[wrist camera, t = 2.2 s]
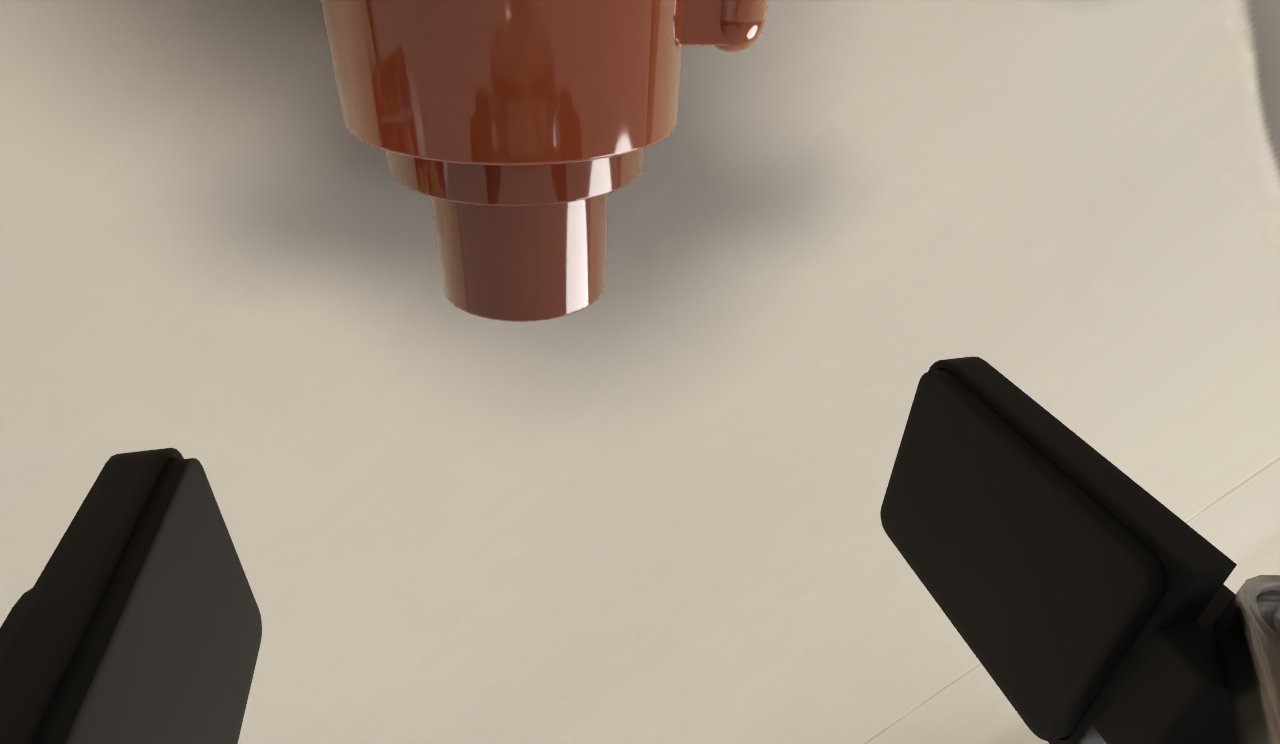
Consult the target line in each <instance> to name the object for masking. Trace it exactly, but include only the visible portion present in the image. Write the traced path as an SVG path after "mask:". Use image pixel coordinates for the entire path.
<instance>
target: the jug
mask: <svg viewBox="0 0 1280 744" xmlns="http://www.w3.org/2000/svg"><path fill="white" fill-rule="evenodd" d="M321 3H322V9H323V14H324V19H325V25H326V30H327V35H328V40H329V46H330V51H331V56H332V62H333V67H334V72H335V78H336V83H337V88H338V93H339V99H340V104H341V109H342V115H343V120H344V124H345V126H346V128H347V130H348V131H349V132H350V133H351V134H352V135H353V136H354V137H355V138H357V139H359V140H361V141H362V142H364V143H366V144H369V145H371V146H374V147H376V148H379V149H382V150H385V151H386V157H387V164H388V170H389V172H390V174H391V175H392V177H393V178H394V179H395V180H396V181H397V182H398V183H400V184H401V185H403V186H404V187H406V188H408V189H410V190H413V191H415V192H418V193H421V194H424V195H427V196H430V197H431V202H432V209H433V217H434V225H435V233H436V240H437V248H438V256H439V263H440V271H441V279H442V287H443V292H444V294H445V296H446V297H447V299H448V300H449V301H450V302H451V303H452V304H453V305H455V306H456V307H458V308H459V309H461V310H463V311H465V312H467V313H470V314H473V315H476V316H479V317H483V318H488V319H493V320H500V321H515V322H525V321H539V320H547V319H553V318H558V317H562V316H565V315H569V314H572V313H575V312H577V311H579V310H582V309H584V308H586V307H587V306H589V305H591V304H592V303H594V302H595V301H596V300H597V299H598V298H599V297H600V296H601V295H602V293H603V291H604V289H605V286H606V250H607V193H611V192H614V191H616V190H618V189H620V188H623V187H625V186H626V185H628V184H630V183H631V182H633V181H634V180H635V179H636V178H637V177H638V176H639V174H640V173H641V171H642V168H643V156H644V148H647V147H649V146H652V145H654V144H656V143H658V142H660V141H662V140H664V139H665V138H667V137H668V136H669V135H670V134H672V132H673V131H674V129H675V127H676V125H677V115H678V100H679V85H680V70H681V54H682V45H713V46H715V47H716V48H718V49H719V50H722V51H725V52H739V51H742V50H745V49H747V48H749V47H750V46H751V45H753V44H754V43H755V42H756V40H757V39H758V38H759V36H760V35H761V33H762V31H763V29H764V26H765V22H766V16H767V8H768V0H321Z"/></svg>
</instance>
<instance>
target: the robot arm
mask: <svg viewBox="0 0 1280 744" xmlns="http://www.w3.org/2000/svg"><path fill="white" fill-rule="evenodd" d="M881 521H882V525H883V528H884V530H885V532H886V534H887V535H888V537H889V538H890V539H891V541H892V542H893V543H894V545H895V546H896V548H897V549H898V550H899V552H900V553H901V554H902V556H903V557H904V558H905V560H906V561H907V563H908V564H909V565H910V567H911V568H912V569H913V571H914V572H915V573H916V575H917V576H918V578H919V579H920V580H921V582H922V583H923V584H924V586H925V587H926V588H927V590H928V591H929V593H930V594H931V595H932V597H933V598H934V599H935V601H936V602H937V603H938V605H939V606H940V608H941V609H942V610H943V612H944V613H945V614H946V616H947V617H948V618H949V620H950V621H951V623H952V624H953V625H954V627H955V628H956V629H957V631H958V632H959V633H960V635H961V636H962V638H963V639H964V640H965V642H966V643H967V644H968V646H969V647H970V648H971V650H972V651H973V653H974V654H975V655H976V657H977V658H978V659H979V661H980V662H981V663H982V665H983V666H984V667H985V669H986V670H987V672H988V673H989V674H990V676H991V677H992V678H993V680H994V681H995V682H996V684H997V685H998V687H999V688H1000V689H1001V691H1002V692H1003V693H1004V695H1005V696H1006V697H1007V699H1008V700H1009V702H1010V703H1011V704H1012V706H1013V707H1014V708H1015V710H1016V711H1017V712H1018V714H1019V715H1020V717H1021V718H1022V719H1023V721H1024V722H1025V723H1026V725H1027V726H1028V727H1029V729H1030V730H1031V731H1032V732H1033V733H1034V734H1035V735H1036V736H1038V737H1039V738H1040V739H1043V740H1045V741H1048V742H1049V744H1280V576H1278V575H1260V576H1257V577H1254V578H1251V579H1248V580H1246V581H1245V583H1244V584H1243V585H1242V587H1241V588H1240V589H1239V591H1238V592H1237V593H1236V595H1235V594H1234V593H1233V592H1232V591H1231V590H1229V589H1228V588H1227V587H1226V586H1225V585H1224V584H1223V583H1224V582H1225V580H1226V579H1227V578H1228V576H1229V575H1230V574H1231V572H1232V571H1233V569H1234V568H1235V567H1236V565H1237V564H1235V563H1234V562H1233V561H1232V560H1231V559H1229V558H1228V557H1227V556H1226V555H1224V554H1223V553H1222V552H1221V551H1219V550H1218V549H1217V548H1216V547H1214V546H1213V545H1212V544H1211V543H1210V542H1208V541H1207V540H1206V539H1205V538H1203V537H1202V536H1201V535H1200V534H1198V533H1197V532H1196V531H1195V530H1193V529H1192V528H1191V527H1190V526H1189V525H1187V524H1186V523H1185V522H1184V521H1182V520H1181V519H1180V518H1179V517H1177V516H1176V515H1175V514H1174V513H1172V512H1171V511H1170V510H1169V509H1168V508H1166V507H1165V506H1164V505H1163V504H1161V503H1160V502H1159V501H1158V500H1156V499H1155V498H1154V497H1153V496H1151V495H1150V494H1149V493H1148V492H1147V491H1145V490H1144V489H1143V488H1142V487H1140V486H1139V485H1138V484H1137V483H1135V482H1134V481H1133V480H1132V479H1130V478H1129V477H1128V476H1127V475H1126V474H1124V473H1123V472H1122V471H1121V470H1119V469H1118V468H1117V467H1116V466H1114V465H1113V464H1112V463H1111V462H1109V461H1108V460H1107V459H1106V458H1105V457H1103V456H1102V455H1101V454H1100V453H1098V452H1097V451H1096V450H1095V449H1093V448H1092V447H1091V446H1090V445H1088V444H1087V443H1086V442H1085V441H1084V440H1082V439H1081V438H1080V437H1079V436H1077V435H1076V434H1075V433H1074V432H1072V431H1071V430H1070V429H1069V428H1067V427H1066V426H1065V425H1064V424H1062V423H1061V422H1060V421H1059V420H1058V419H1056V418H1055V417H1054V416H1053V415H1051V414H1050V413H1049V412H1048V411H1046V410H1045V409H1044V408H1043V407H1041V406H1040V405H1039V404H1038V403H1037V402H1035V401H1034V400H1033V399H1032V398H1030V397H1029V396H1028V395H1027V394H1025V393H1024V392H1023V391H1022V390H1020V389H1019V388H1018V387H1017V386H1016V385H1014V384H1013V383H1012V382H1011V381H1009V380H1008V379H1007V378H1006V377H1004V376H1003V375H1002V374H1001V373H999V372H998V371H997V370H996V369H995V368H993V367H992V366H991V365H990V364H988V363H987V362H986V361H984V360H983V359H981V358H979V357H965V358H956V359H947V360H940V361H937V362H935V363H934V364H933V365H932V366H931V367H930V369H929V371H928V372H927V373H925V374H924V375H923V376H922V377H921V379H920V381H919V384H918V387H917V391H916V394H915V397H914V401H913V404H912V407H911V411H910V414H909V417H908V421H907V424H906V427H905V431H904V434H903V437H902V441H901V444H900V447H899V450H898V454H897V457H896V460H895V464H894V467H893V470H892V474H891V477H890V480H889V484H888V487H887V490H886V494H885V497H884V500H883V504H882V507H881ZM261 636H262V622H261V615H260V612H259V609H258V606H257V603H256V601H255V598H254V596H253V593H252V591H251V588H250V586H249V583H248V581H247V578H246V576H245V573H244V571H243V568H242V565H241V563H240V560H239V558H238V555H237V553H236V550H235V548H234V545H233V543H232V540H231V538H230V535H229V532H228V530H227V527H226V525H225V522H224V520H223V517H222V515H221V512H220V510H219V507H218V505H217V502H216V500H215V497H214V494H213V492H212V489H211V487H210V484H209V482H208V479H207V477H206V474H205V472H204V469H203V467H202V465H201V463H200V462H199V461H198V460H197V459H194V458H191V459H184V458H183V456H182V455H181V453H180V452H179V451H178V450H177V449H174V448H166V449H157V450H148V451H140V452H131V453H122V454H116V455H114V456H112V457H111V458H110V459H109V460H108V461H107V462H106V464H105V466H104V467H103V469H102V471H101V472H100V474H99V476H98V478H97V479H96V481H95V483H94V484H93V486H92V488H91V490H90V491H89V493H88V495H87V496H86V498H85V500H84V502H83V503H82V505H81V507H80V508H79V510H78V512H77V513H76V515H75V517H74V519H73V520H72V522H71V524H70V525H69V527H68V529H67V531H66V532H65V534H64V536H63V537H62V539H61V541H60V543H59V544H58V546H57V548H56V549H55V551H54V553H53V554H52V556H51V558H50V560H49V561H48V563H47V565H46V566H45V568H44V570H43V572H42V573H41V575H40V577H39V578H38V580H37V582H36V583H35V585H34V587H33V588H32V589H30V590H29V591H27V592H26V593H24V594H23V595H22V596H21V598H20V599H19V600H18V601H17V603H16V604H15V605H14V607H13V608H12V610H11V611H10V613H9V615H8V616H7V618H6V620H5V621H4V623H3V625H2V626H1V628H0V744H237V743H238V739H239V734H240V730H241V726H242V721H243V717H244V713H245V708H246V704H247V700H248V695H249V691H250V687H251V682H252V678H253V674H254V669H255V665H256V661H257V656H258V652H259V648H260V643H261Z"/></svg>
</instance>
